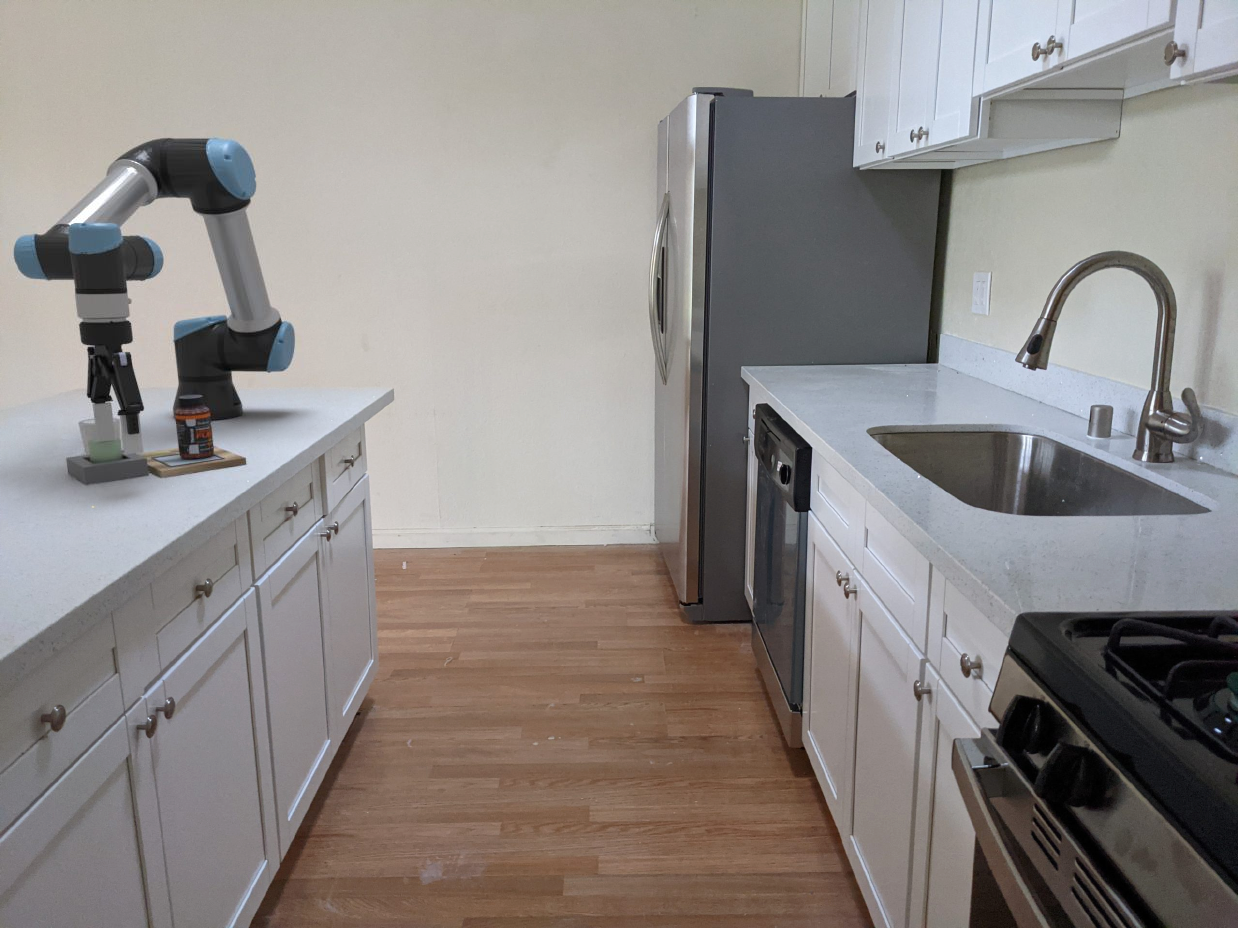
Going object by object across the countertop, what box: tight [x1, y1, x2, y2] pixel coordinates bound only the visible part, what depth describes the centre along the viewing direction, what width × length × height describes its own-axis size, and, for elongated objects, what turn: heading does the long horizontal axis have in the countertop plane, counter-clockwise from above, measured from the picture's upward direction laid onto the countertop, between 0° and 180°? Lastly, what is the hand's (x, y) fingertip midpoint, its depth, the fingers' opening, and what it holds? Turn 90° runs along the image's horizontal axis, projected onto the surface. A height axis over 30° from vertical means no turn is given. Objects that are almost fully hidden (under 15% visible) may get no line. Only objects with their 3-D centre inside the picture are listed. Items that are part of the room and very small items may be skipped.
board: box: [137, 445, 247, 478], centre depth 172 cm, size 17×15×1 cm
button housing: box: [65, 449, 149, 486], centre depth 162 cm, size 10×10×3 cm
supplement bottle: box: [174, 395, 215, 459], centre depth 170 cm, size 6×6×11 cm
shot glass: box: [77, 417, 121, 455], centre depth 176 cm, size 7×7×7 cm
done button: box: [88, 438, 123, 464], centre depth 162 cm, size 5×5×5 cm
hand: (119, 446), depth 156 cm, fingers open, 13 cm apart
